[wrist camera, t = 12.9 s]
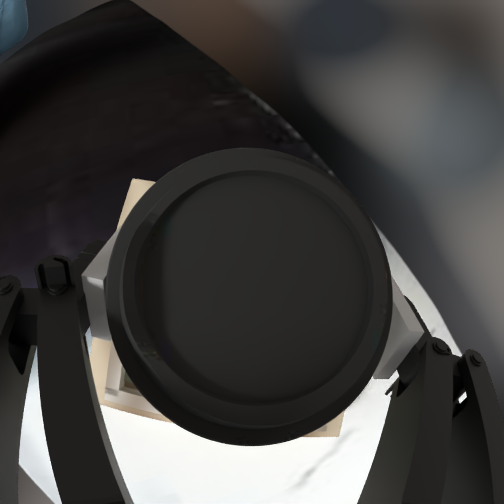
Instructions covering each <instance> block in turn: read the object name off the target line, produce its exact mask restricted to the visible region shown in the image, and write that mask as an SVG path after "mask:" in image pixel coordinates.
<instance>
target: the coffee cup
mask: <svg viewBox="0 0 504 504" xmlns="http://www.w3.org/2000/svg"><path fill="white" fill-rule="evenodd" d="M105 297H106V313H107V320H108V325H109V330H110V334H111V338H112V341H113V344H114V347H115V350H116V352H117V355H118V357H119V359H120V362H121V364H122V366H123V368H124V369H125V371H126V373H127V375H128V376H129V378H130V379H131V381H132V382H133V384H134V385H135V387H136V388H137V389H138V391H139V392H140V393H141V394H142V395H143V397H144V398H145V399H146V400H147V401H148V402H149V403H150V404H151V405H152V406H153V407H154V408H155V409H156V410H158V411H159V412H160V413H161V414H162V415H164V416H165V417H166V418H168V419H169V420H170V421H172V422H173V423H175V424H176V425H178V426H180V427H181V428H183V429H185V430H187V431H189V432H191V433H193V434H196V435H198V436H200V437H203V438H206V439H209V440H212V441H216V442H220V443H225V444H230V445H239V446H264V445H272V444H278V443H283V442H287V441H290V440H294V439H297V438H299V437H302V436H305V435H307V434H309V433H311V432H313V431H315V430H317V429H319V428H321V427H322V426H324V425H326V424H327V423H329V422H330V421H332V420H333V419H334V418H336V417H337V416H338V415H340V414H341V413H342V412H343V411H344V410H345V409H346V408H347V407H348V406H349V405H350V404H351V403H352V402H353V401H354V400H355V399H356V398H357V397H358V396H359V394H360V393H361V392H362V391H363V389H364V388H365V387H366V385H367V384H368V382H369V381H370V379H371V377H372V376H373V374H374V372H375V370H376V368H377V366H378V364H379V362H380V360H381V358H382V355H383V352H384V350H385V347H386V343H387V340H388V336H389V332H390V327H391V320H392V311H393V288H392V279H391V272H390V267H389V263H388V259H387V256H386V252H385V249H384V246H383V244H382V241H381V239H380V237H379V234H378V232H377V230H376V228H375V226H374V225H373V223H372V221H371V219H370V218H369V216H368V215H367V213H366V212H365V210H364V209H363V207H362V206H361V205H360V203H359V202H358V201H357V200H356V199H355V198H354V196H353V195H352V194H351V193H350V192H349V191H348V190H347V189H346V188H345V187H344V186H343V185H342V184H340V183H339V182H338V181H337V180H336V179H334V178H333V177H332V176H330V175H329V174H328V173H326V172H325V171H323V170H322V169H320V168H318V167H317V166H315V165H313V164H311V163H309V162H307V161H305V160H303V159H300V158H298V157H295V156H292V155H289V154H286V153H282V152H278V151H274V150H268V149H260V148H234V149H226V150H220V151H216V152H212V153H208V154H205V155H202V156H199V157H196V158H194V159H192V160H189V161H187V162H185V163H183V164H181V165H180V166H178V167H176V168H175V169H173V170H171V171H170V172H168V173H167V174H166V175H164V176H163V177H162V178H160V179H159V180H158V181H157V182H156V183H154V184H153V185H152V186H151V187H150V188H149V189H148V190H147V191H146V192H145V193H144V194H143V196H142V197H141V198H140V199H139V200H138V202H137V203H136V204H135V206H134V207H133V208H132V210H131V211H130V213H129V214H128V216H127V218H126V219H125V221H124V223H123V225H122V227H121V229H120V231H119V233H118V235H117V238H116V240H115V243H114V246H113V249H112V252H111V256H110V260H109V265H108V270H107V277H106V293H105Z"/></svg>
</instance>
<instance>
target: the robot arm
mask: <svg viewBox="0 0 504 504" xmlns="http://www.w3.org/2000/svg"><path fill="white" fill-rule="evenodd" d="M27 29H28V18H27V9H26V1H25V0H0V55H2V54H3V53H4V52H6V51H7V50H8V49H10V48H11V47H13V46H14V45H15V44H17V43H18V42H20V41H21V40H22V39H23V37H24V36H25V34H26V32H27ZM122 225H123V224H122ZM122 225H121V226H120V227H119V229H118V230H117V231H116V232H115V233H114V235H113V236H112V237H111V238H110V239H109V241H108V242H107V241H102V240H96V241H94V242H92V243H90V244H88V245H87V246H86V247H85V249H84V250H83V251H82V253H80V254H79V255H78V257H77V259H75V260H74V261H73V262H71V260H70V259H68V258H67V257H64V256H61V255H53V256H48V257H46V258H44V259H42V260H40V261H39V262H38V263H37V264H36V266H35V268H34V270H35V275H36V279H37V284H38V288H22V287H21V283H20V280H19V279H18V278H17V277H15V276H11V275H8V276H2V277H0V504H18V464H19V448H20V436H21V427H22V419H23V412H24V405H25V399H26V393H27V388H28V382H29V377H30V373H31V368H32V364H33V359H34V355H35V351H36V347H37V357H38V377H39V390H40V400H41V409H42V416H43V423H44V430H45V436H46V441H47V446H48V451H49V456H50V461H51V465H52V469H53V473H54V477H55V481H56V485H57V488H58V492H59V495H60V498H61V501H62V504H134V503H133V501H132V498H131V496H130V494H129V491H128V489H127V487H126V484H125V482H124V479H123V476H122V474H121V471H120V469H119V466H118V463H117V460H116V457H115V454H114V452H113V449H112V446H111V442H110V439H109V436H108V433H107V429H106V426H105V423H104V419H103V415H102V412H101V408H100V404H99V400H98V396H97V392H96V387H95V383H94V378H93V374H92V369H91V364H90V358H89V353H88V347H87V341H86V336H85V333H86V332H87V330H88V328H89V326H90V330H91V335H92V337H96V338H99V339H103V340H106V341H110V342H111V340H112V338H111V334H110V330H109V325H108V320H107V313H106V297H105V293H106V277H107V270H108V265H109V260H110V256H111V252H112V249H113V246H114V243H115V240H116V238H117V235H118V233H119V231H120V229H121V227H122ZM391 279H392V288H393V311H392V320H391V327H390V332H389V336H388V340H387V343H386V347H385V350H384V352H383V355H382V358H381V360H380V362H379V364H378V366H377V368H376V370H375V372H374V374H373V377H374V379H389V378H390V377H391V376H392V375H393V373H394V372H395V371H396V370H397V371H398V374H399V377H398V378H397V380H396V381H395V382H394V383H393V384H392V385H391V387H390V388H389V389H388V390H387V391H386V393H385V395H388V394H389V393H390V391H392V395H391V396H390V397H391V400H390V404H389V408H388V412H387V416H386V420H385V424H384V427H383V431H382V434H381V438H380V441H379V444H378V447H377V451H376V454H375V457H374V460H373V463H372V466H371V469H370V471H369V474H368V477H367V480H366V482H365V485H364V488H363V490H362V493H361V495H360V498H359V500H358V503H357V504H504V422H503V418H502V414H501V410H500V407H499V403H498V400H497V396H496V393H495V390H494V387H493V383H492V380H491V377H490V375H489V372H488V369H487V366H486V363H485V361H484V359H483V358H482V357H481V355H480V354H479V353H478V352H476V351H474V350H470V349H468V350H466V351H465V353H464V354H463V355H462V356H461V357H459V356H456V355H453V354H452V352H451V349H450V348H449V346H448V345H447V344H446V343H445V342H444V341H443V340H441V339H439V338H436V337H432V336H431V334H430V332H429V330H428V329H427V327H426V325H425V323H424V322H423V320H422V319H421V316H420V315H419V313H418V312H417V310H416V308H415V306H414V305H413V303H412V302H411V301H410V300H409V299H408V298H407V297H406V296H403V294H402V292H401V291H400V289H399V287H398V286H397V284H396V282H395V281H394V279H393V278H392V276H391ZM465 391H466V395H467V397H466V398H465V399H464V400H463V401H462V402H461V403H459V400H458V399H459V397H460V396H461V395H462V394H463V393H464V392H465Z"/></svg>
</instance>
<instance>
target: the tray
mask: <svg viewBox="0 0 504 504" xmlns="http://www.w3.org/2000/svg"><path fill="white" fill-rule="evenodd" d="M154 183H156V182H151V181H145V180H139V179H133V180H132V182H131V185H130V188H129V191H128V194H127V197H126V201H125V204H124V207H123V210H122V213H121V217H120V220H119V223H118V227H117V230H118V229H119V227H120V226H121V225H122V224H123V223H124V221H125V219H126V218H127V216H128V214H129V213H130V211H131V210H132V208H133V207H134V206H135V204H136V203H137V202H138V200H139V199H140V198H141V197H142V196H143V194H144V193H145V192H146V191H147V190H148V189H149V188H150V187H151V186H152V185H153V184H154ZM117 230H116V231H117ZM90 364H91V369H92V374H93V378H94V383H95V387H96V392H97V396H98V400H99V404H101V405H104V406H107V407H111V408H114V409H118V410H121V411H125V412H128V413H132V414H136V415H140V416H144V417H148V418H152V419H156V420H161V421H165V422H170V423H173V422H172V421H170V420H169V419H168V418H166V417H165V416H164V415H162V414H161V413H160V412H159V411H158V410H156V409H155V408H154V407H153V406H152V405H151V404H150V403H149V402H148V401H147V400H146V399H145V398H144V397H143V395H142V394H141V393H140V392H139V391H138V389H137V388H136V387H135V385H134V384H133V382H132V381H131V379H130V378H129V376H128V375H127V373H126V371H125V369H124V368H123V366H122V364H121V362H120V359H119V357H118V355H117V352H116V350H115V347H114V344H113V341H112V340H111V342H110V341H106V340H103V339H99V338H96V337H93V341H92V348H91V355H90ZM344 411H345V410H344ZM344 411H343V412H342V413H341V414H340V415H338V416H337V417H336V418H334V419H333V420H332V421H330V422H329V423H327V424H326V425H324V426H322V427H321V428H319V429H317V430H315V431H313V432H311V433H309V434H307V435H305V436H302V437H339V434H340V430H341V425H342V420H343V416H344Z"/></svg>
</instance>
